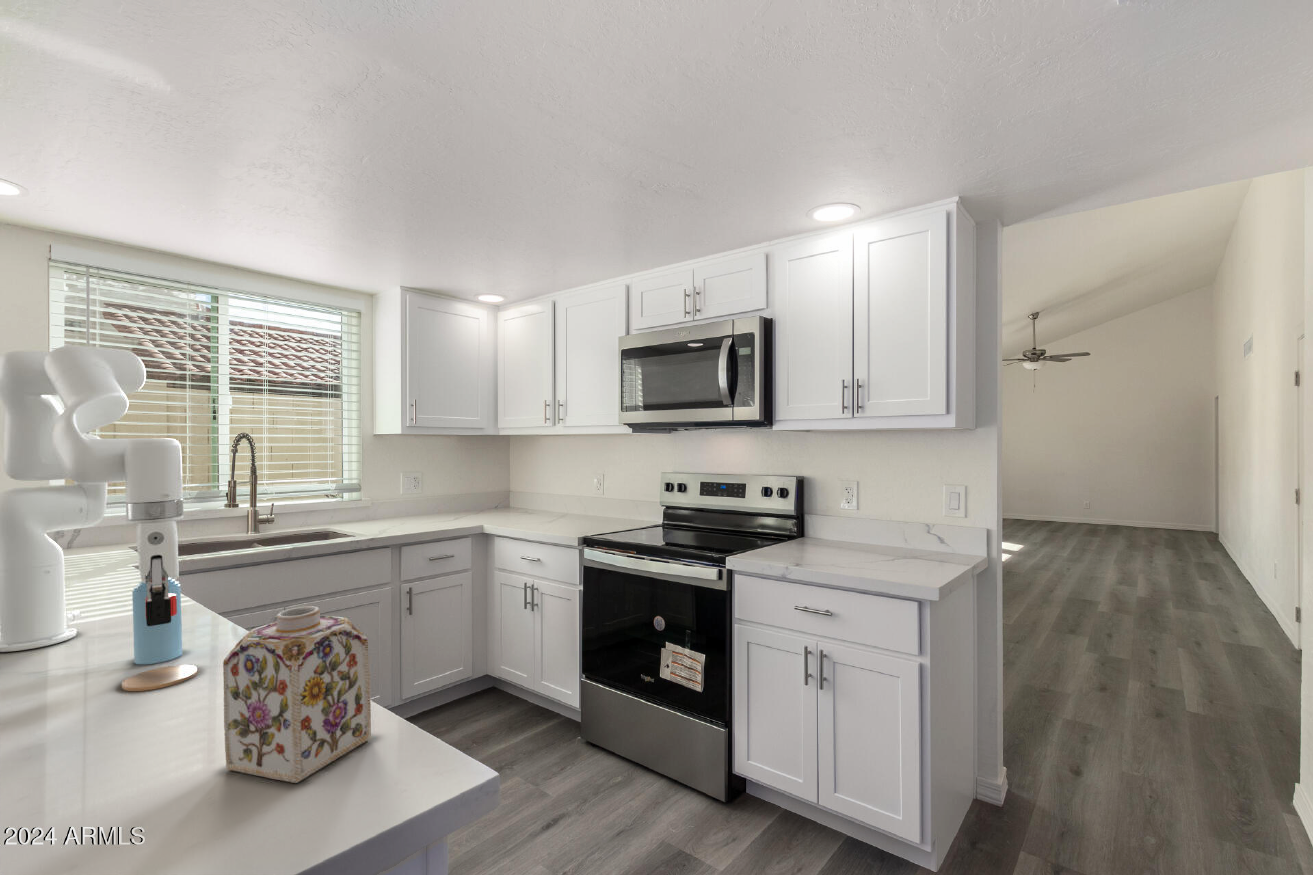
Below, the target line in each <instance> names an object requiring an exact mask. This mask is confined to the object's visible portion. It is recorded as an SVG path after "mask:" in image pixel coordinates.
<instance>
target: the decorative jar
mask: <svg viewBox="0 0 1313 875" xmlns="http://www.w3.org/2000/svg"><path fill="white" fill-rule="evenodd" d="M369 654H370V653H369V640H368V638H367V636H365V635H364V633H363V632H362V631H361V629H358V627H357V626H356V625H355V624H354V623H352V622H351V621H350V620H349V619H348V618H347V617H343V616H334V615H321V612H320V608H319V607H318V606H315V605H306V606H298V607H297V606H296V607H293V608H289V609H284V610H282V611H280V612H278V613H277V614H276V621H275V622H271V623H268V624H265V625H260V626H258V627H255V628H253V629H250V630H249V631H248V632H247V633H246V634H245V635H244V636H243V637H242V638H241V639H240V640H239V641H238V642H237V643H236V644H235V646H234V647H233V648H232V649H231V650H230V652H229V653H228V655H226V657H225V658H224V659H223V662H222V664H223V665H222V669H223V670H222V673H223V674H222V675H223V677H222V678H223V730H224V733H223V734H224V753H225V769H226V770H227V771H234V772H239V773H243V774H247V775H253V776H257V777H262V778H266V779H270V780H275V781H276V780H277V781H282V782H289V783H292V784H297V783H299V782H301V781H303V780H305V779H307V778H308V777H309V776H311V775H313V774H315V773H316V772H318V771H319V770H321V769H323V768H324V767H326V766H328V765H330V764H331V763H333V762H334V761H336V760H337V759H339V758H341V757H343V756H344V755H347V753H349V752H351V751H352V750H355V749H356V748H358V747H359V746H361V745H362V744H364V743H366V742H368V741H369V740H370V738H371V736H372V709H371V707H372V706H371V705H372V704H371V703H372V701H371V682H370V680H371V679H370V656H369Z"/></svg>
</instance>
